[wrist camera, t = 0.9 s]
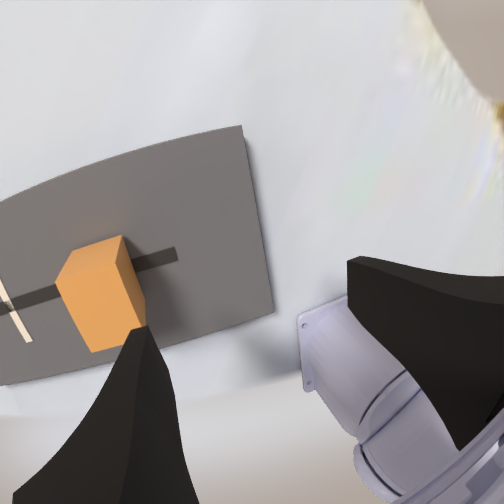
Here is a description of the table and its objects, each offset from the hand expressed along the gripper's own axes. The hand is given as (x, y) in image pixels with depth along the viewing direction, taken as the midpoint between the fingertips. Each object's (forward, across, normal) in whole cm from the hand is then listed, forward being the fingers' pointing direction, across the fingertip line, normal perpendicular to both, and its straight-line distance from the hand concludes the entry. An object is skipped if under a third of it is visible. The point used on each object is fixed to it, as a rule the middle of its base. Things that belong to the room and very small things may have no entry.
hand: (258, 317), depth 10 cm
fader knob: (+8, +6, 0) cm, 10 cm away
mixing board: (+9, +9, 0) cm, 13 cm away
